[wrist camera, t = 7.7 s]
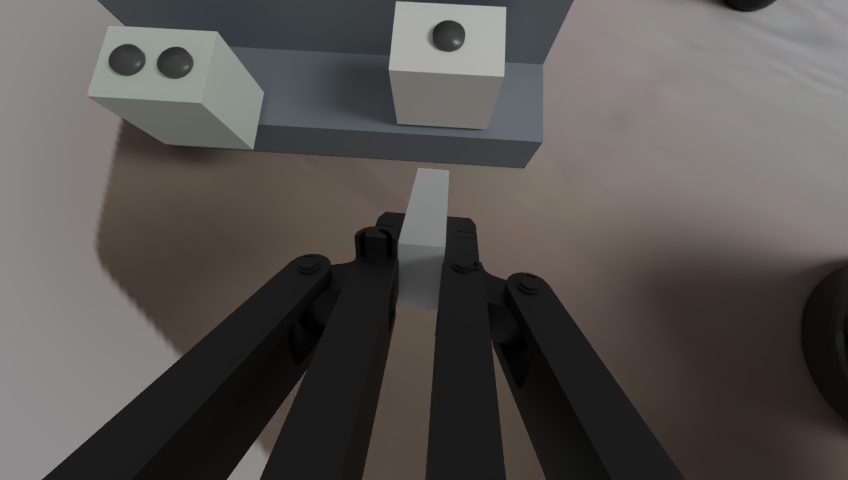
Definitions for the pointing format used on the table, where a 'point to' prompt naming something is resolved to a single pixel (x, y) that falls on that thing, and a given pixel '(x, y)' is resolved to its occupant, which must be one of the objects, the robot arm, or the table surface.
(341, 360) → the robot arm
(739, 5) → the supplement bottle
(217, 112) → the key two
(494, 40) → the key one
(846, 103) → the table surface
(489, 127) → the grey stepped stand
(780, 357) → the table surface
